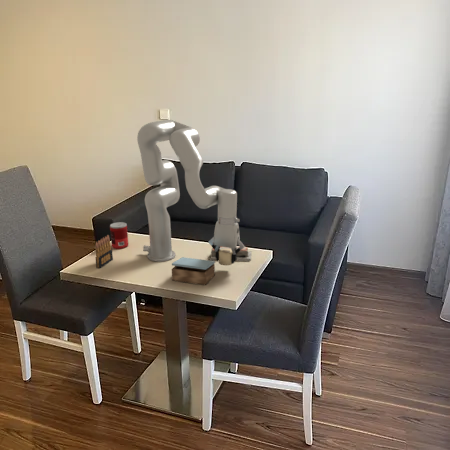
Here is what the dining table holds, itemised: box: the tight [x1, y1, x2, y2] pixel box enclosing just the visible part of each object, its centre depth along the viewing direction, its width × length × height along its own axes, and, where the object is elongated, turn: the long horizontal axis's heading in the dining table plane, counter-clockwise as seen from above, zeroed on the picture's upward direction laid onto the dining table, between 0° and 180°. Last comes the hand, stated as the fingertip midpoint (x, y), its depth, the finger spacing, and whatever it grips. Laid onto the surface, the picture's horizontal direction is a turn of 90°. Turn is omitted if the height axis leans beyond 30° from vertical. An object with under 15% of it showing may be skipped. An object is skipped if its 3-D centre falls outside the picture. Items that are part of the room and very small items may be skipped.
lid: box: [171, 256, 216, 270], centre depth 191 cm, size 14×10×1 cm
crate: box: [171, 263, 216, 286], centre depth 192 cm, size 14×10×5 cm
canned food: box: [109, 221, 129, 250], centre depth 227 cm, size 8×8×11 cm
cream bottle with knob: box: [218, 249, 234, 267], centre depth 197 cm, size 6×6×5 cm
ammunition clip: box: [95, 234, 114, 269], centre depth 206 cm, size 11×2×12 cm, turn 162°
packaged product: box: [210, 246, 252, 262], centre depth 213 cm, size 18×5×10 cm
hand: (225, 260), depth 198 cm, fingers closed on cream bottle with knob, 6 cm apart
